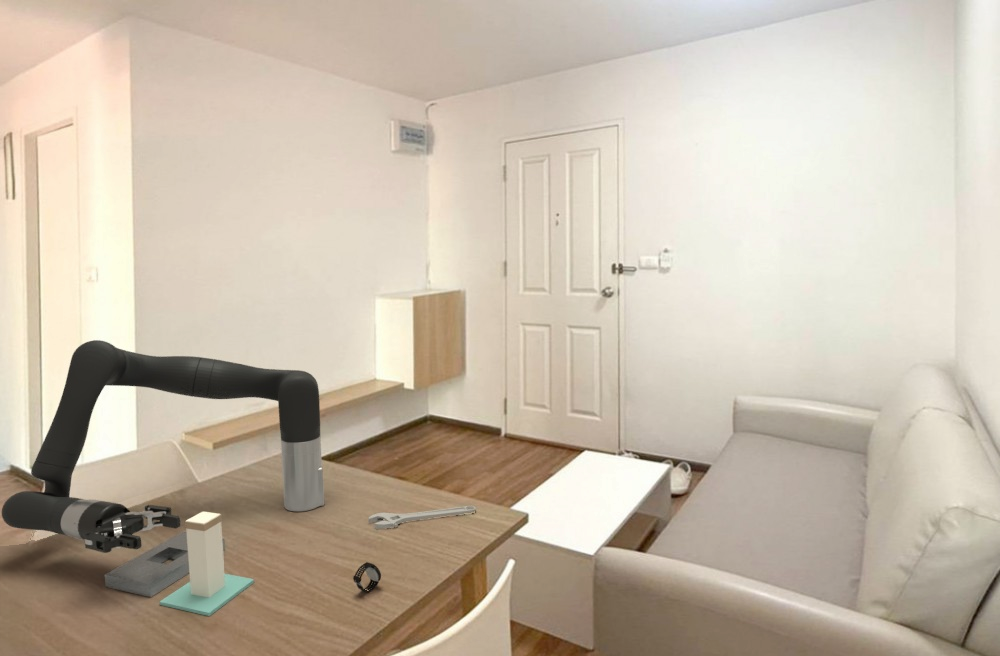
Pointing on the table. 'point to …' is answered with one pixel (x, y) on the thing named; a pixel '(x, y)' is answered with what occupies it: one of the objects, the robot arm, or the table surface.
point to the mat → (204, 604)
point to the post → (205, 554)
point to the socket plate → (153, 568)
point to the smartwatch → (372, 574)
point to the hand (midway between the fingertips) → (160, 532)
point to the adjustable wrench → (414, 516)
